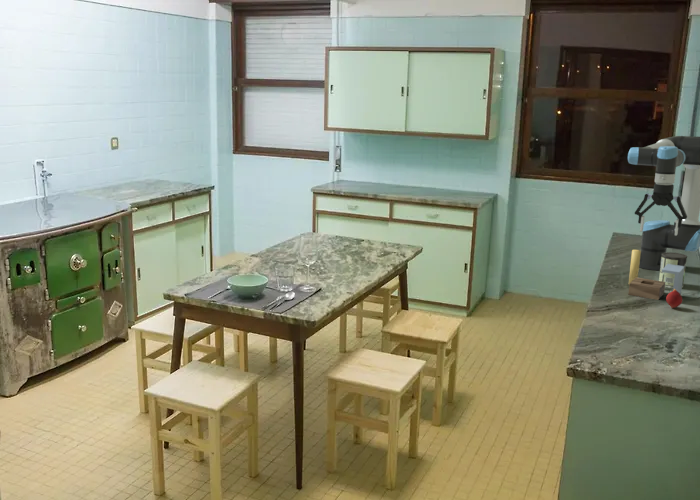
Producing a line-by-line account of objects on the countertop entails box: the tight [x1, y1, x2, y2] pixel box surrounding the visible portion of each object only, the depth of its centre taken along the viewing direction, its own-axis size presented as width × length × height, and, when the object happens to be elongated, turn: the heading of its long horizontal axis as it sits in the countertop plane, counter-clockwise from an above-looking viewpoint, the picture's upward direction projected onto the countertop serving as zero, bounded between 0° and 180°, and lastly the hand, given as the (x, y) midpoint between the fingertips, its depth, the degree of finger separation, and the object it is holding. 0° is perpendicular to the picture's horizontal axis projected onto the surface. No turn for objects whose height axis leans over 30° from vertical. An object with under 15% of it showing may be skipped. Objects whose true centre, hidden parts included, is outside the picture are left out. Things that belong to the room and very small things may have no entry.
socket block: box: [627, 277, 666, 301], centre depth 283 cm, size 12×12×5 cm
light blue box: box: [662, 264, 686, 295], centre depth 277 cm, size 12×7×13 cm, turn 145°
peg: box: [628, 249, 641, 286], centre depth 295 cm, size 4×4×16 cm
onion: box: [665, 288, 683, 309], centre depth 264 cm, size 6×6×8 cm
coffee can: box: [658, 251, 688, 289], centre depth 295 cm, size 10×10×14 cm
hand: (658, 233), depth 281 cm, fingers open, 13 cm apart
